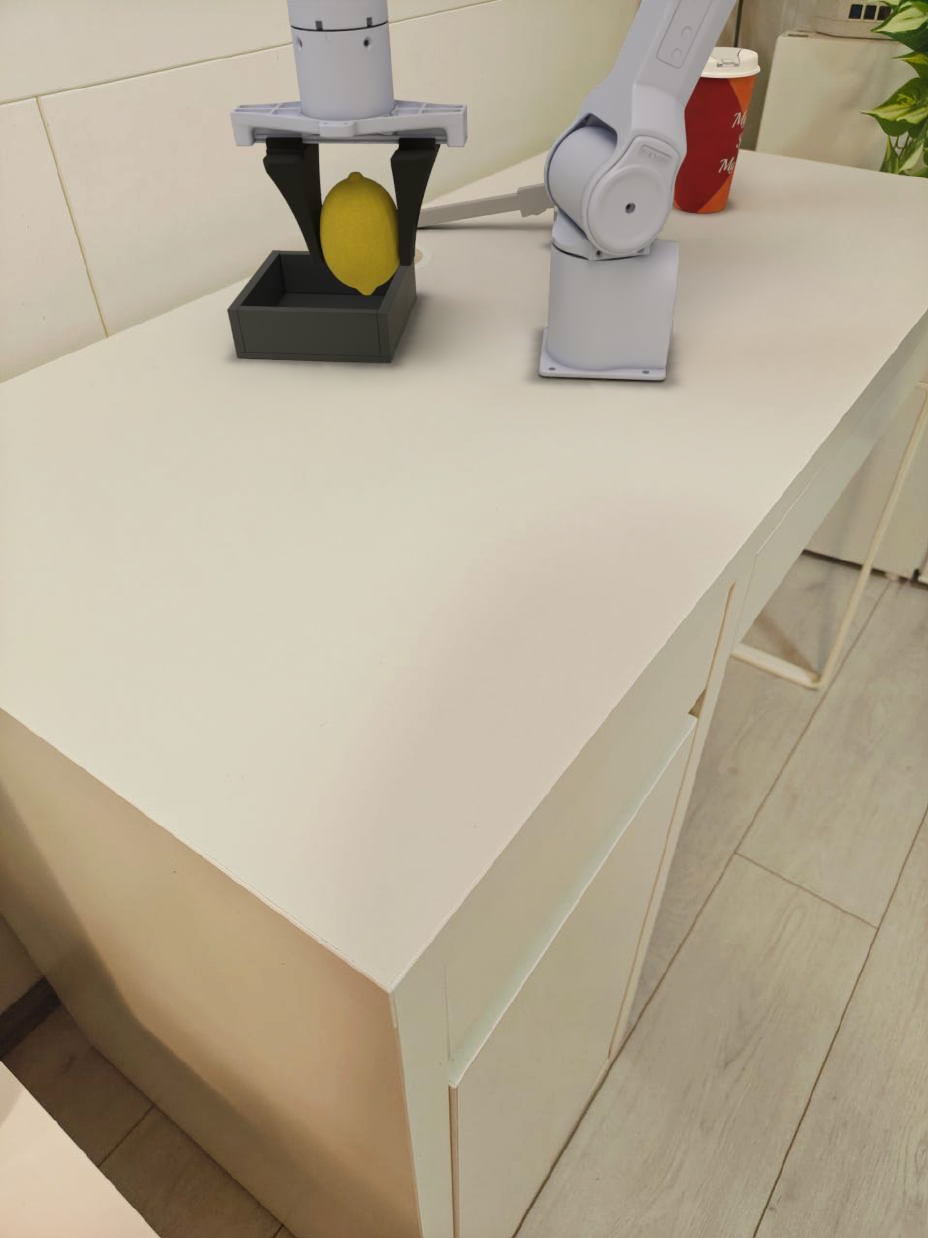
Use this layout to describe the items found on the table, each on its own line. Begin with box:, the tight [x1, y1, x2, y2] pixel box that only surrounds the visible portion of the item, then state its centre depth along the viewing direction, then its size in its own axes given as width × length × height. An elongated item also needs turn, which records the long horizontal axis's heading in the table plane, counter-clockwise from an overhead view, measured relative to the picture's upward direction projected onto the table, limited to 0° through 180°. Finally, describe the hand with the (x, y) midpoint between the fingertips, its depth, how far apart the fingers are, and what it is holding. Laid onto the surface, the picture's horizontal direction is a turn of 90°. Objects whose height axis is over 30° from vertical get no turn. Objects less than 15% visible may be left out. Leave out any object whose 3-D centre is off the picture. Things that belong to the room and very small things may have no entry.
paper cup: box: [673, 46, 761, 214], centre depth 90 cm, size 8×8×14 cm
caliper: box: [417, 182, 554, 228], centre depth 89 cm, size 20×1×6 cm, turn 81°
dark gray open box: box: [226, 249, 418, 364], centre depth 73 cm, size 13×13×4 cm
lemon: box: [320, 171, 400, 295], centre depth 59 cm, size 6×6×8 cm
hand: (363, 259), depth 60 cm, fingers closed on lemon, 5 cm apart
